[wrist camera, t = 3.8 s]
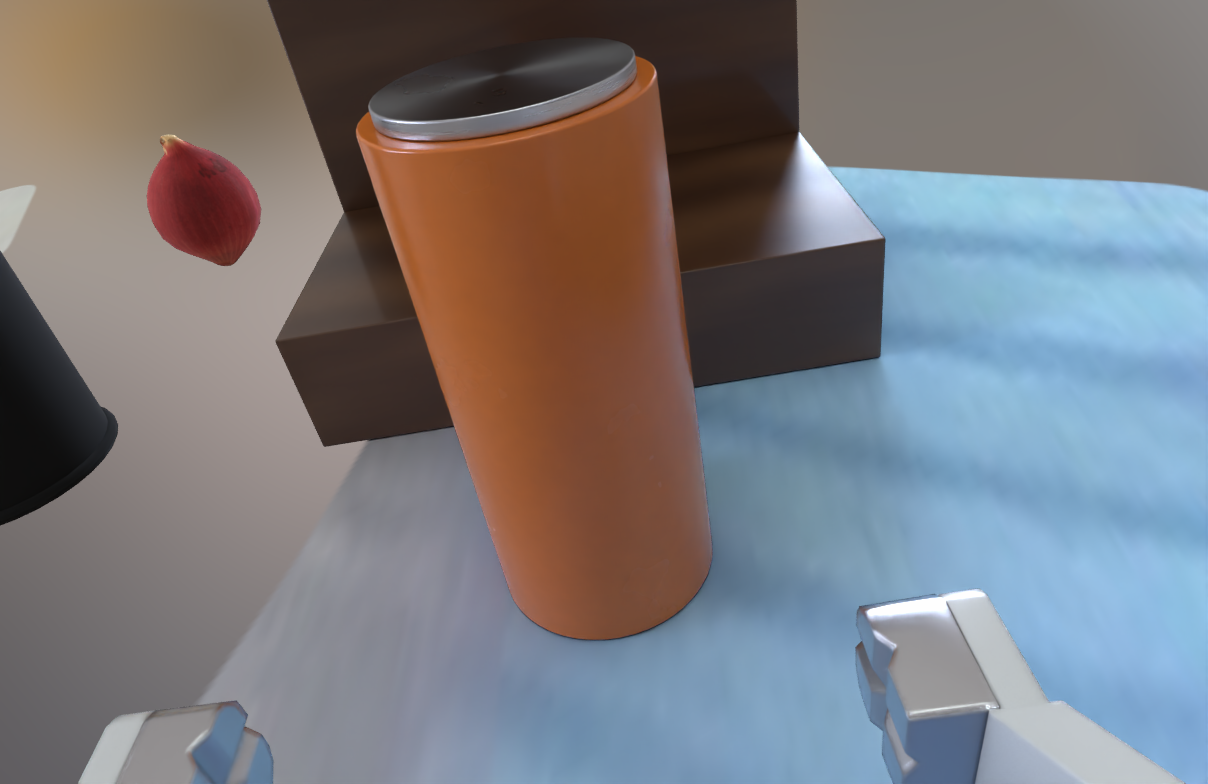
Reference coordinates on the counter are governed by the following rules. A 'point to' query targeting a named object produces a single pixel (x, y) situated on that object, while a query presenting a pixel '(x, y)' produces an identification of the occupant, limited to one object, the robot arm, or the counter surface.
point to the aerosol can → (42, 409)
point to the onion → (202, 203)
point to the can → (554, 318)
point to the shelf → (697, 179)
